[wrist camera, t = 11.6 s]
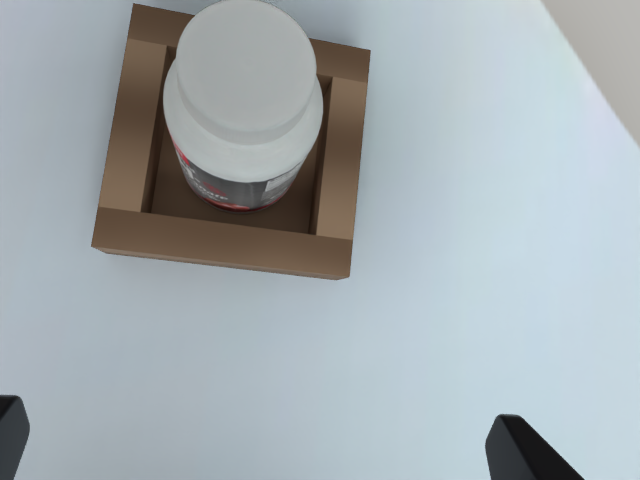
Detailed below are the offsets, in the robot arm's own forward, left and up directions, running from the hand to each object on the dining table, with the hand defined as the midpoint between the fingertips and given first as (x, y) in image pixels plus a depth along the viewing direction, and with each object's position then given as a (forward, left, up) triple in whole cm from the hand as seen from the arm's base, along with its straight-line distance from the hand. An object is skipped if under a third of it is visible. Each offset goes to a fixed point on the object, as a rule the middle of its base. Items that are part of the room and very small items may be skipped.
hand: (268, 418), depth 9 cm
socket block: (+4, +8, -14) cm, 16 cm away
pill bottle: (+4, +8, -13) cm, 16 cm away
